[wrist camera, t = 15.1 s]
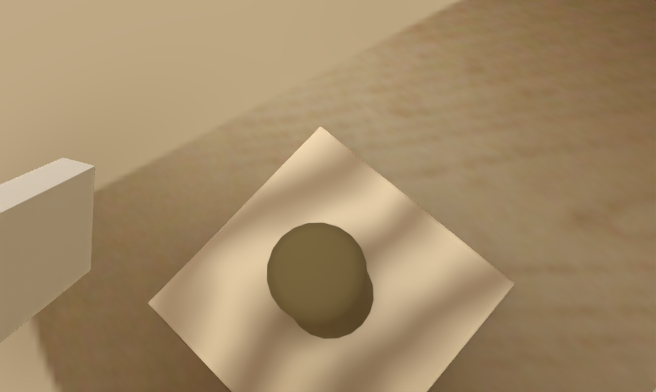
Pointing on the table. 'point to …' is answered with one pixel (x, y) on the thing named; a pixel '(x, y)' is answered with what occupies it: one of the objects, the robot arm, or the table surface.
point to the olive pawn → (321, 280)
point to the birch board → (382, 266)
